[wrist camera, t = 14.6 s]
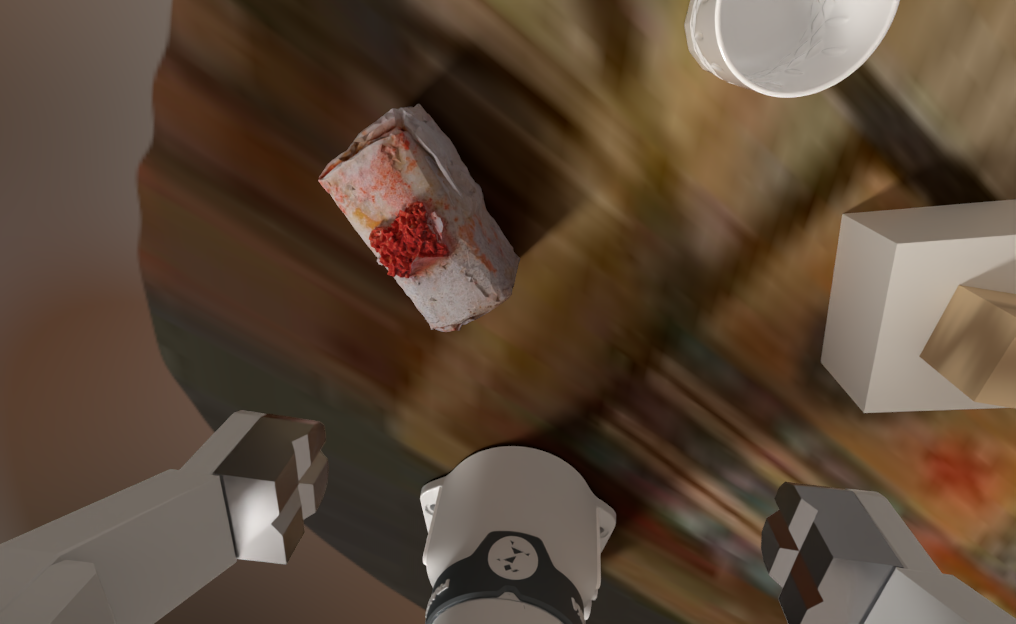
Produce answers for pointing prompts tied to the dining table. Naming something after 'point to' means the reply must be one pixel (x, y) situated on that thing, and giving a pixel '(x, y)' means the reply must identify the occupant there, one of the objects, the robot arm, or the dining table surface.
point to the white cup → (786, 41)
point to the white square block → (909, 297)
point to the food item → (423, 218)
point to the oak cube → (977, 345)
